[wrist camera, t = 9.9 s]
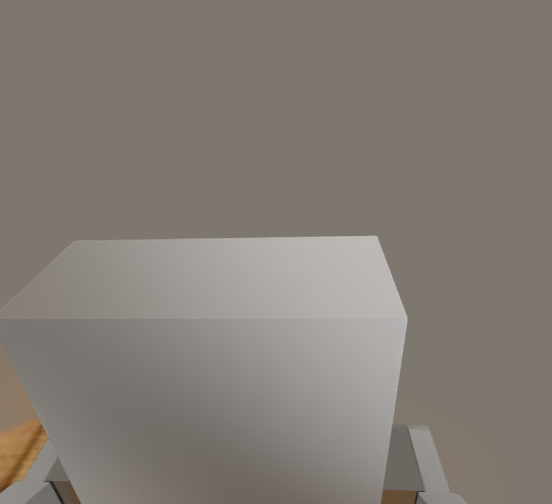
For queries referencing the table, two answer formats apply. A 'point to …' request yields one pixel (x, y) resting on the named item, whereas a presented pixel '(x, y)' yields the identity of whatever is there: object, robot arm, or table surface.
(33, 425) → the table surface
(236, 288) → the tall white pillar
